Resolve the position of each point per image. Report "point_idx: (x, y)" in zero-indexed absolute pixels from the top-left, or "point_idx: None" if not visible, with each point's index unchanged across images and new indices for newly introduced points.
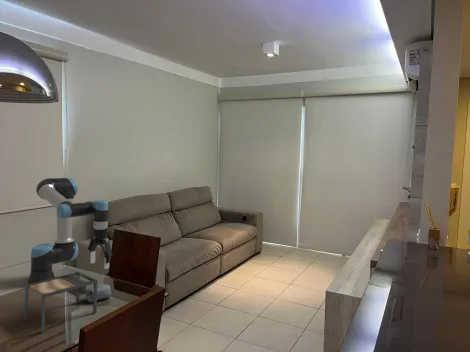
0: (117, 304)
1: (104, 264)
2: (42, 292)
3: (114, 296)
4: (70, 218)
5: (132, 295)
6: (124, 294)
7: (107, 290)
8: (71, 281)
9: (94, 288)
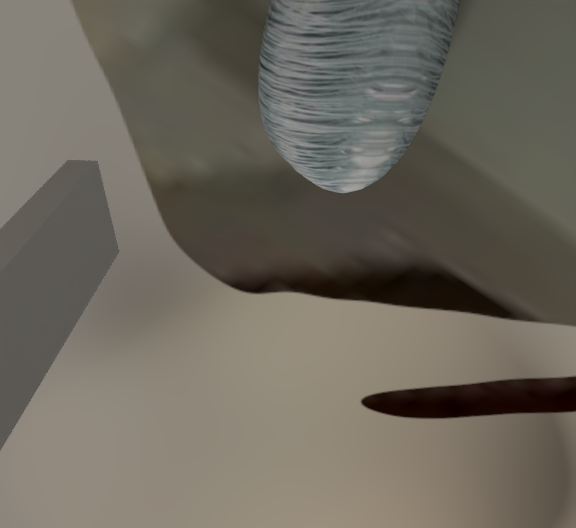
0: (135, 94)
1: (36, 213)
2: None
3: None
4: None
5: (218, 268)
6: (276, 245)
7: (263, 119)
8: None
9: None
